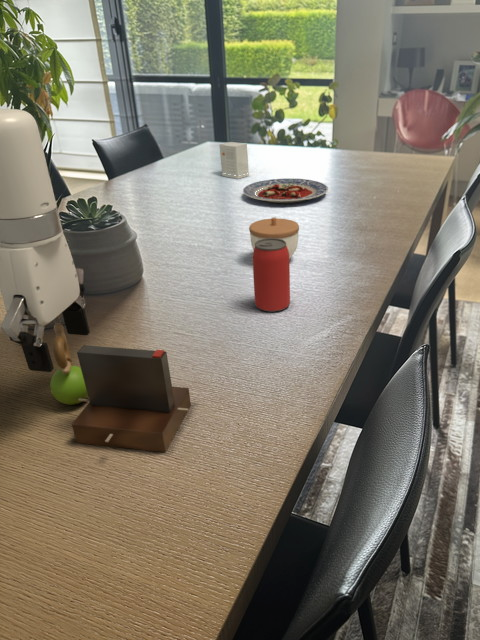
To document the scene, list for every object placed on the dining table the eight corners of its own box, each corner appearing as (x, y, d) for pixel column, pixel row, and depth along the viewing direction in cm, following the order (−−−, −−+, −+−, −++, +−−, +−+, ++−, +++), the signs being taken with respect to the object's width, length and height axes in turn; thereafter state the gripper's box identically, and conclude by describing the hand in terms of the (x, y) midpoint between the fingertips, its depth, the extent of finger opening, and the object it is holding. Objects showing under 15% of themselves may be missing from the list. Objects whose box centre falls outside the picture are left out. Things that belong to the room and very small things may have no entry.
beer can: (253, 299, 105) (250, 238, 99) (287, 296, 106) (286, 235, 99) (256, 314, 100) (253, 250, 93) (292, 311, 100) (291, 248, 94)
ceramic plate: (314, 210, 153) (315, 200, 152) (230, 204, 161) (229, 194, 159) (337, 187, 174) (337, 178, 172) (260, 183, 181) (260, 174, 180)
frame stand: (54, 454, 68) (48, 434, 66) (108, 387, 81) (104, 368, 79) (170, 468, 66) (167, 447, 64) (207, 395, 78) (205, 377, 76)
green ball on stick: (94, 383, 82) (76, 310, 75) (96, 407, 76) (76, 331, 70) (56, 390, 80) (34, 317, 74) (55, 415, 75) (31, 338, 69)
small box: (249, 176, 190) (247, 143, 185) (237, 179, 187) (235, 146, 181) (233, 173, 195) (230, 141, 189) (221, 176, 191) (219, 143, 186)
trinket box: (303, 266, 119) (303, 223, 114) (254, 270, 117) (251, 227, 112) (294, 249, 128) (293, 209, 122) (248, 253, 126) (246, 212, 121)
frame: (90, 405, 72) (76, 350, 67) (96, 397, 73) (83, 343, 69) (170, 412, 70) (161, 357, 65) (174, 404, 71) (166, 349, 67)
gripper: (38, 204, 73) (68, 320, 82) (-51, 249, 58) (-3, 384, 68) (90, 206, 71) (115, 323, 81) (13, 253, 57) (53, 389, 66)
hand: (61, 351), depth 74 cm, fingers open, 9 cm apart
